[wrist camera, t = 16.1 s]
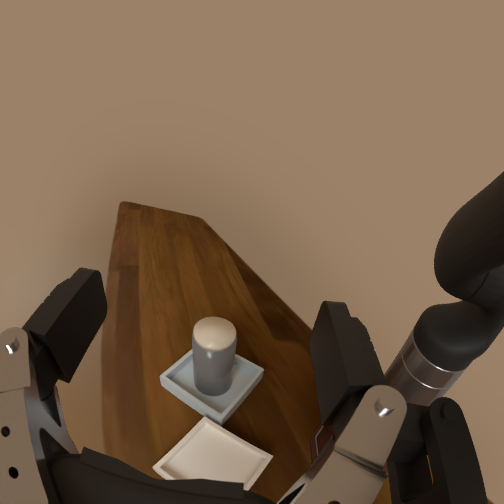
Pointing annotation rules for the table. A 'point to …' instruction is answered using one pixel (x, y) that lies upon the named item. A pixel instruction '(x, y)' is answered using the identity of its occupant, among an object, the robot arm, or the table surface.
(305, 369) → the table surface
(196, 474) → the tray
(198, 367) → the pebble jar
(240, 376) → the glazed dish
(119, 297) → the table surface
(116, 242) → the table surface
